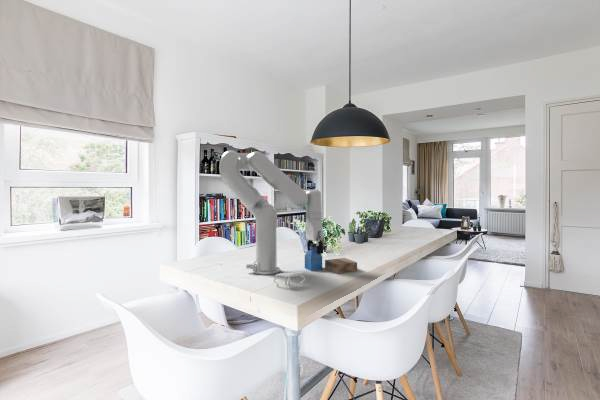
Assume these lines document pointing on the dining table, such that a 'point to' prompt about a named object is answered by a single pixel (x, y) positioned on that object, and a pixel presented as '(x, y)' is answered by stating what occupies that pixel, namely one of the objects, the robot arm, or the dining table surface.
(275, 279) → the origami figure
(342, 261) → the walnut block
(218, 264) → the dining table surface
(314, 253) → the perfume bottle
